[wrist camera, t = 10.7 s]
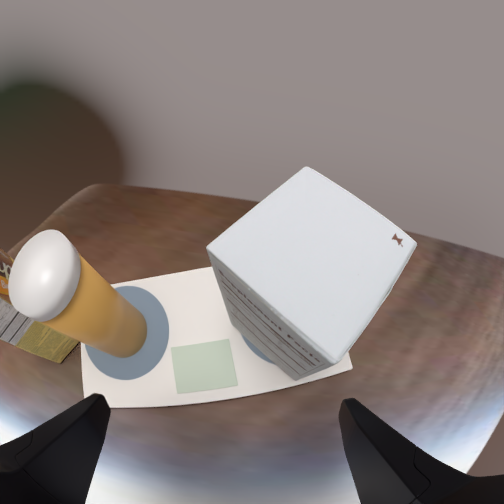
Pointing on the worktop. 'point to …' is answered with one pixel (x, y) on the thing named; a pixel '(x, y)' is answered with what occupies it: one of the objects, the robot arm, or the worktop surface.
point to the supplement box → (307, 271)
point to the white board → (185, 350)
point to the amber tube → (73, 297)
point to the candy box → (28, 325)
